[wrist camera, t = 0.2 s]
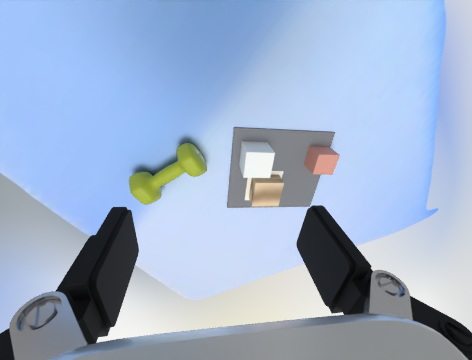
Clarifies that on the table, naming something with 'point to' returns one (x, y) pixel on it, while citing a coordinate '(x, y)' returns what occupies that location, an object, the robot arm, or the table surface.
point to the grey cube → (256, 159)
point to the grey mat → (278, 164)
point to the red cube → (321, 160)
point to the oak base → (266, 191)
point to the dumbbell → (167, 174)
